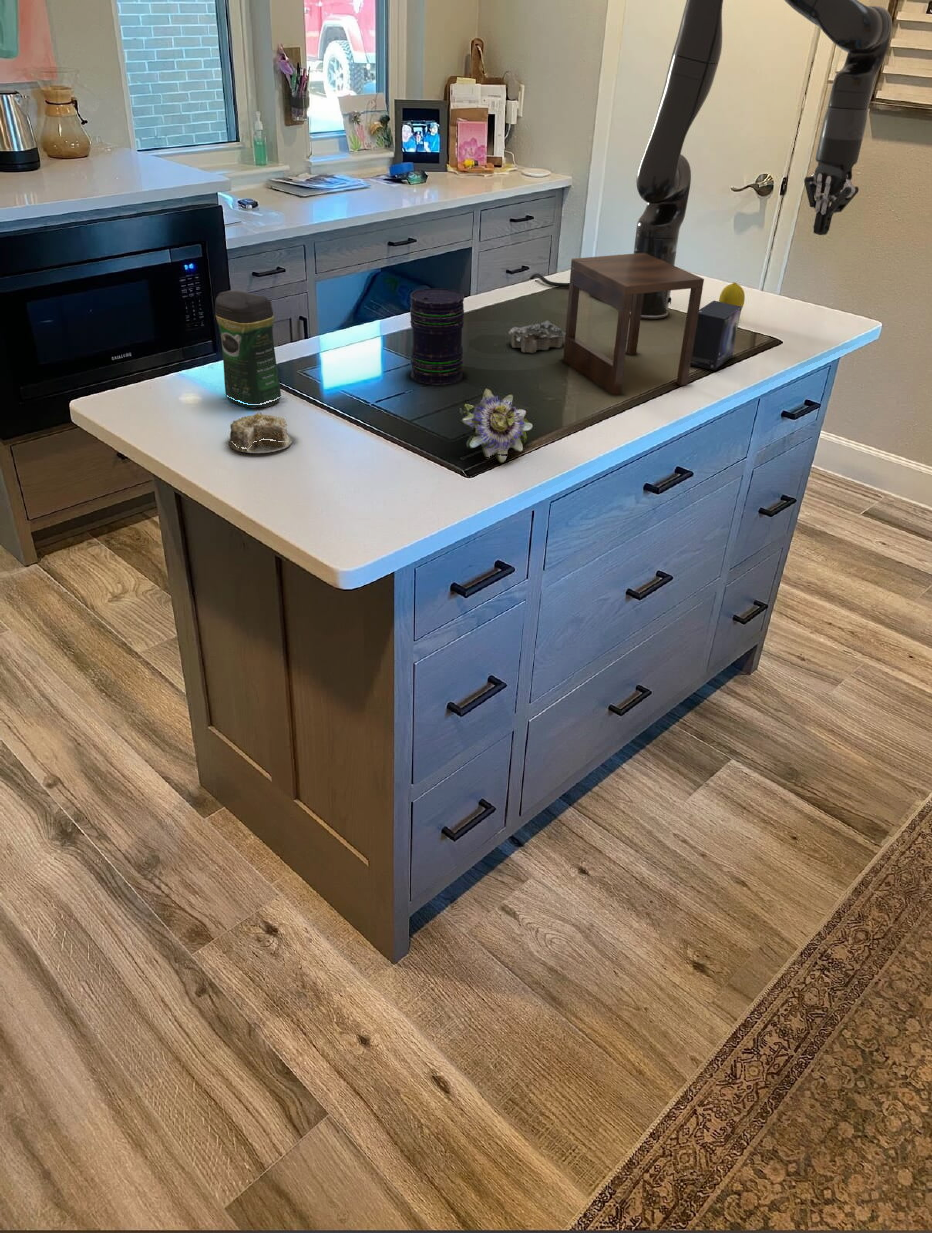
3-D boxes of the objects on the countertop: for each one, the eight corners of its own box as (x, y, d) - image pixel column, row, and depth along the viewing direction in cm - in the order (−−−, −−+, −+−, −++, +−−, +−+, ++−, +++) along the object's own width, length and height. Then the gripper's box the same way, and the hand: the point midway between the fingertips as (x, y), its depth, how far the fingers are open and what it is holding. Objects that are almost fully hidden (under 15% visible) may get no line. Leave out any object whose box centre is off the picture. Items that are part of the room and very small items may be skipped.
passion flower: (499, 491, 151) (473, 449, 141) (461, 456, 157) (433, 413, 147) (552, 445, 151) (529, 399, 141) (512, 411, 157) (487, 365, 147)
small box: (716, 371, 185) (725, 318, 179) (684, 365, 187) (693, 312, 181) (734, 357, 192) (743, 305, 186) (703, 351, 195) (712, 299, 189)
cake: (218, 443, 152) (213, 411, 150) (274, 430, 157) (270, 399, 155) (246, 460, 145) (241, 426, 143) (303, 446, 151) (300, 413, 148)
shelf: (563, 360, 188) (571, 258, 177) (632, 352, 193) (644, 252, 182) (613, 395, 173) (626, 286, 162) (687, 385, 178) (704, 278, 167)
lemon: (744, 318, 215) (751, 282, 210) (736, 324, 211) (742, 287, 206) (720, 313, 217) (727, 278, 213) (712, 319, 213) (718, 283, 209)
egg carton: (525, 355, 190) (526, 335, 188) (505, 344, 196) (506, 324, 193) (568, 347, 195) (570, 327, 193) (547, 336, 200) (548, 317, 198)
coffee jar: (289, 401, 167) (280, 294, 156) (254, 413, 162) (242, 303, 151) (253, 387, 172) (242, 282, 161) (218, 399, 167) (204, 292, 156)
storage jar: (438, 363, 185) (438, 285, 177) (473, 376, 179) (475, 296, 171) (399, 374, 179) (398, 294, 171) (435, 389, 173) (435, 306, 165)
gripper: (883, 139, 170) (858, 240, 180) (833, 129, 180) (812, 225, 190) (850, 140, 168) (827, 243, 177) (801, 130, 178) (782, 228, 188)
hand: (819, 233), depth 184 cm, fingers closed
